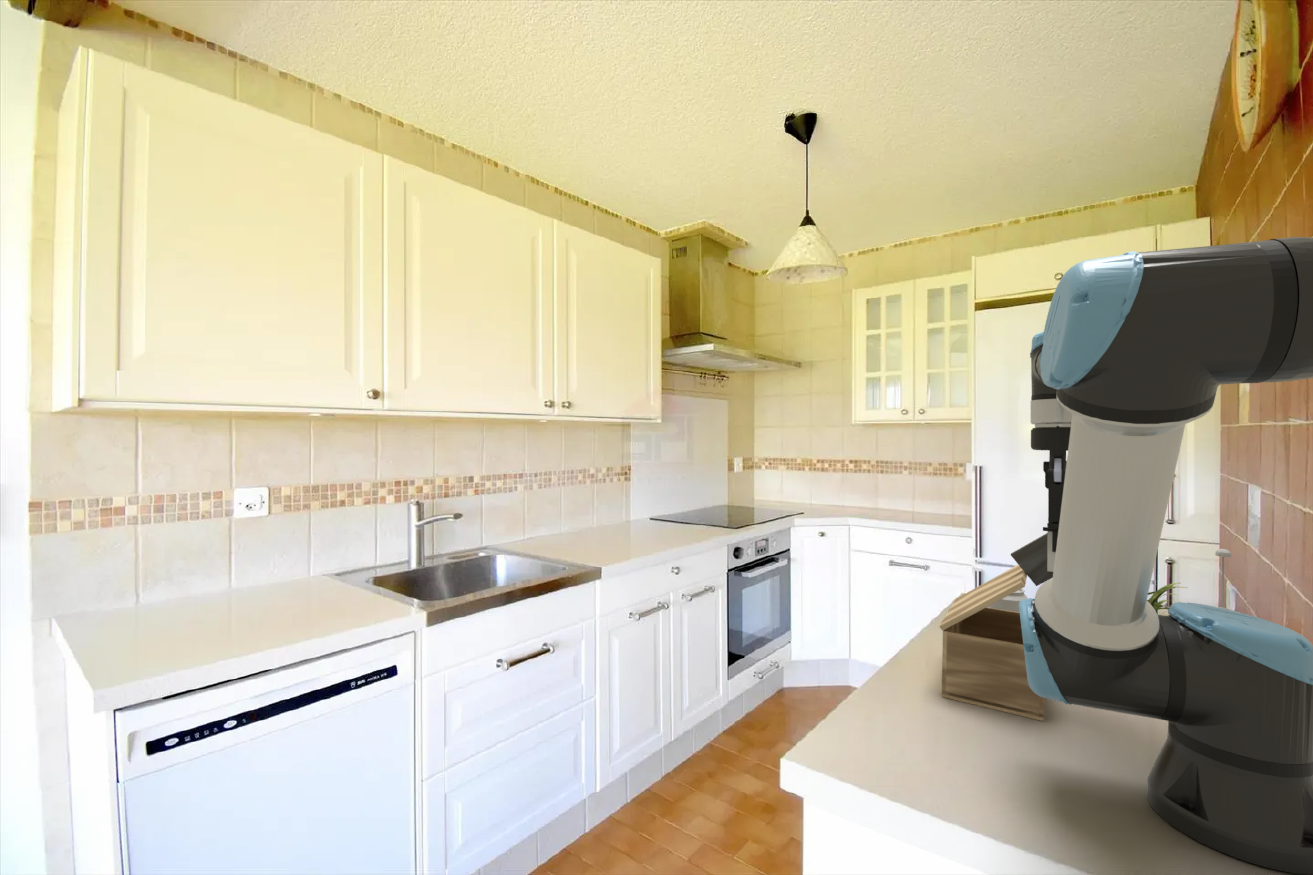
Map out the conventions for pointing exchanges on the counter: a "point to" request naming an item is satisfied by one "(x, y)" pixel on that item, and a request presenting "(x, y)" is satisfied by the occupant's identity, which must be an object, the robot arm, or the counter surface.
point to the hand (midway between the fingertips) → (1057, 570)
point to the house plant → (1159, 593)
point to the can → (1010, 601)
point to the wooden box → (989, 664)
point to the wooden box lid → (1003, 582)
